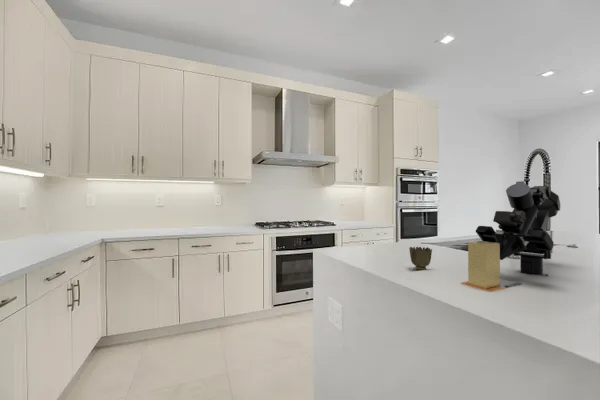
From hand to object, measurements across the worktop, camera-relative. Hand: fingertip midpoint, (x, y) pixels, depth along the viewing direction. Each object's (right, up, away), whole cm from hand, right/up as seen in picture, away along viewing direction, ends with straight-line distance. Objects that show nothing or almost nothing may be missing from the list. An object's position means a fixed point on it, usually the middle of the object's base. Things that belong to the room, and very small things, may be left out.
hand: (499, 258), depth 82 cm
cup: (-15, -8, +18) cm, 25 cm away
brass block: (-7, -7, -4) cm, 10 cm away
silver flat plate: (-4, -8, -2) cm, 9 cm away
